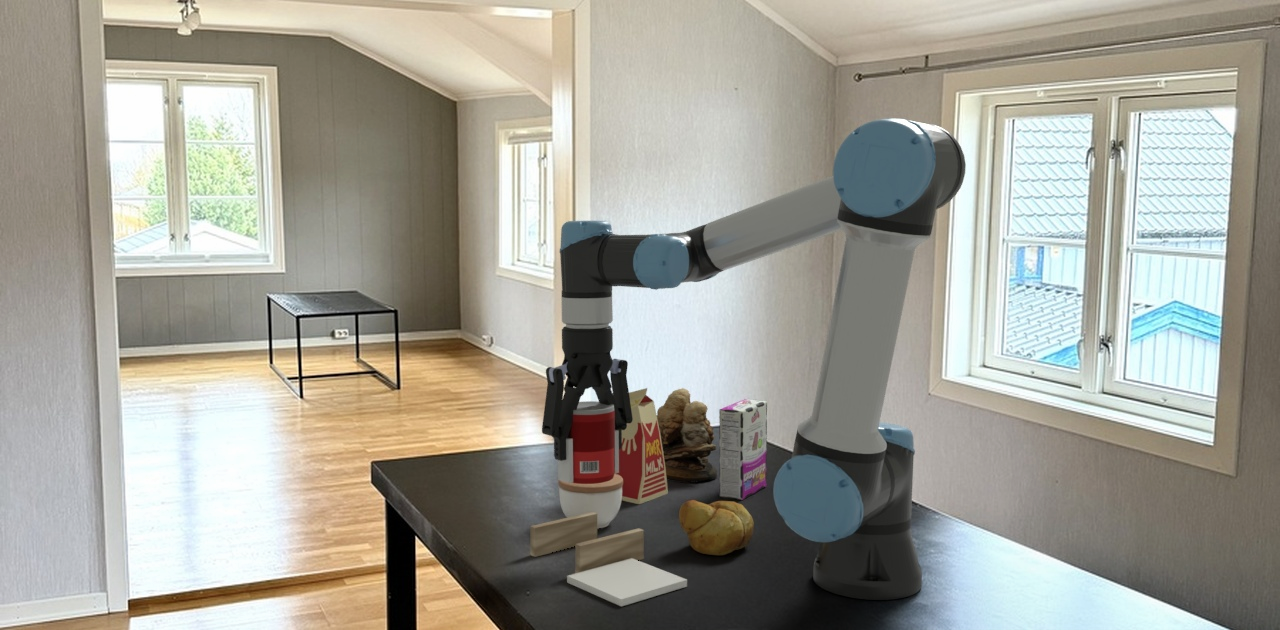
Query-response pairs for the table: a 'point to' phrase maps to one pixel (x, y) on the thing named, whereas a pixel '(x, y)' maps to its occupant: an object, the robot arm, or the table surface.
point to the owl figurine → (686, 438)
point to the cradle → (586, 542)
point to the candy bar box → (743, 448)
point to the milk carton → (642, 453)
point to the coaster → (626, 581)
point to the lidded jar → (592, 499)
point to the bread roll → (716, 526)
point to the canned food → (593, 443)
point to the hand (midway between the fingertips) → (588, 476)
